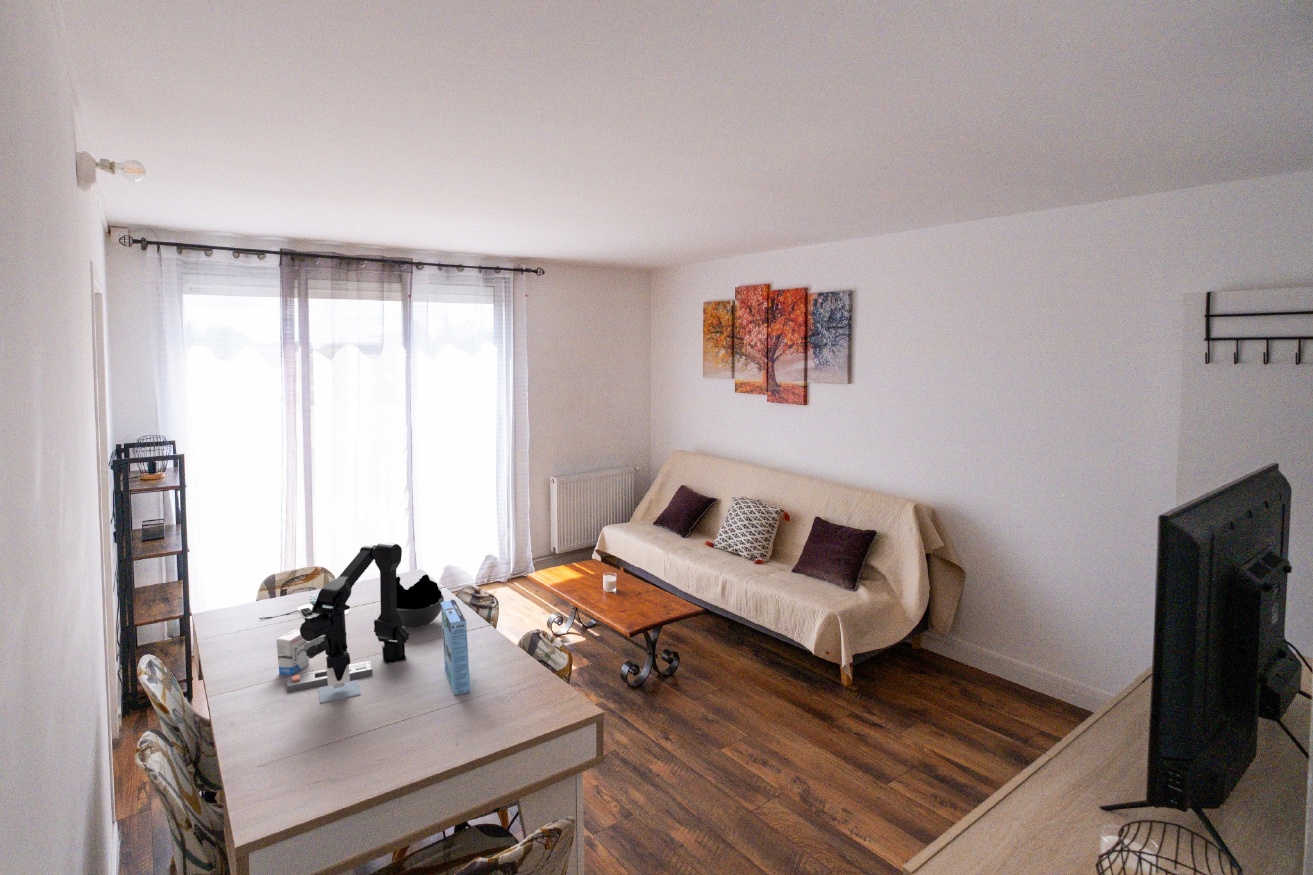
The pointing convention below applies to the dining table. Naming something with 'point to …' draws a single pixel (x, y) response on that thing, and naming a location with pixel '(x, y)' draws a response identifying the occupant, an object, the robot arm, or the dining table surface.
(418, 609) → the coal bowl
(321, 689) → the mat
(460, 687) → the light blue carton
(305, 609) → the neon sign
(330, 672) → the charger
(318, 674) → the power strip
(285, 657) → the ink box
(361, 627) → the dining table surface
